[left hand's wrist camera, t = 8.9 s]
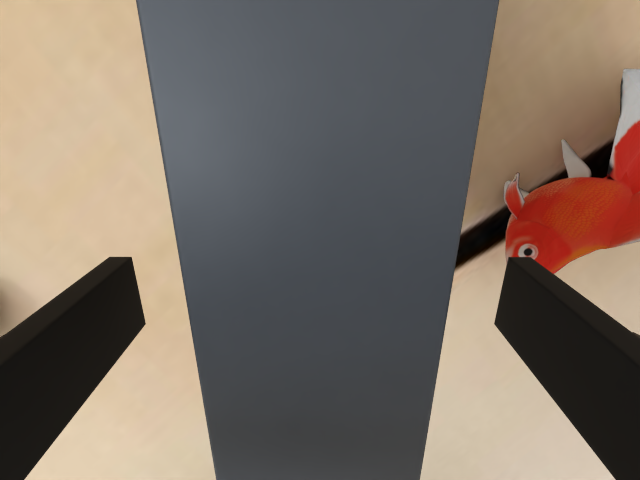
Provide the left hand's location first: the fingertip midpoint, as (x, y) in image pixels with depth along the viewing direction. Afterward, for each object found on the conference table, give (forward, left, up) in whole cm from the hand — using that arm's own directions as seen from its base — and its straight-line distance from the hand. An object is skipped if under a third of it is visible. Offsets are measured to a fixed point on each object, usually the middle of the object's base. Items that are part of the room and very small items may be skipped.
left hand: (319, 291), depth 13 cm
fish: (+2, -17, -14) cm, 22 cm away
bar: (+9, 0, -3) cm, 10 cm away
